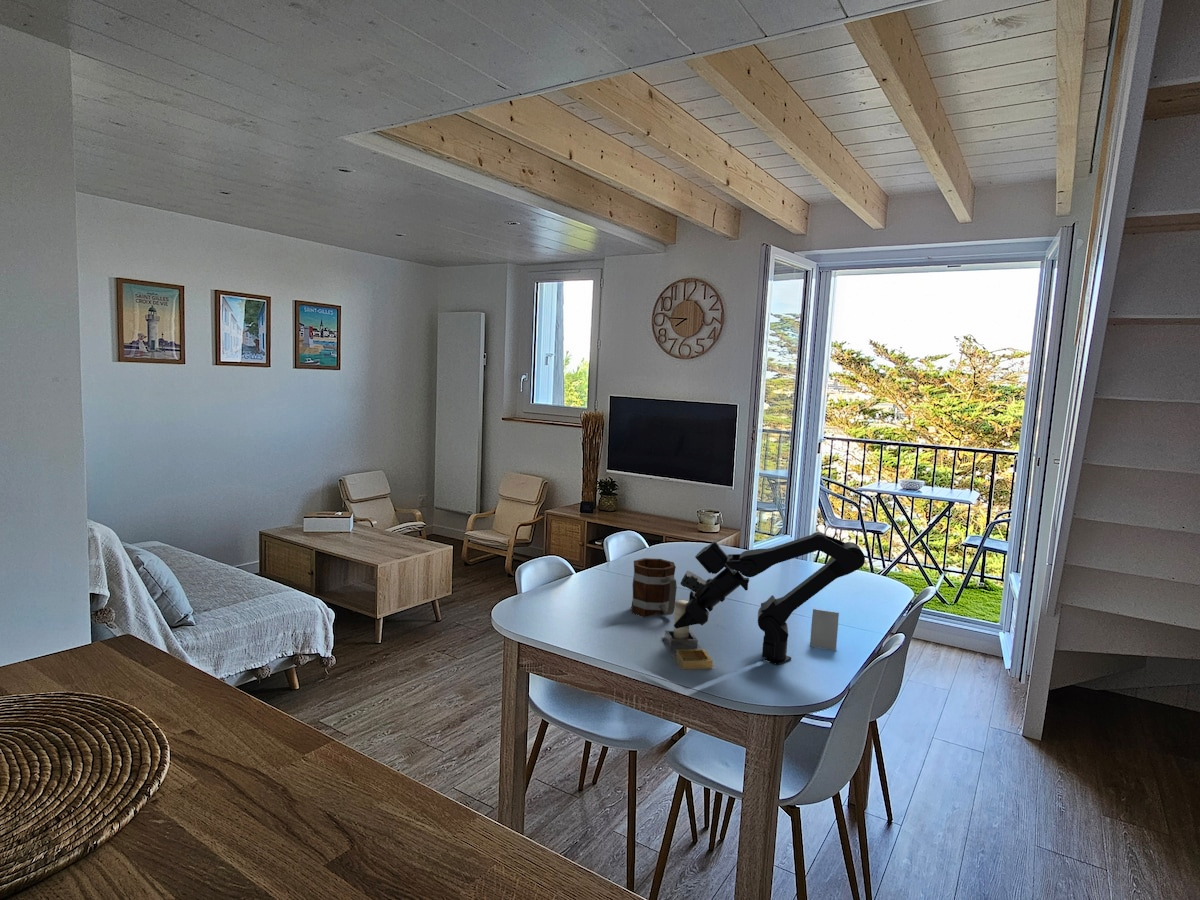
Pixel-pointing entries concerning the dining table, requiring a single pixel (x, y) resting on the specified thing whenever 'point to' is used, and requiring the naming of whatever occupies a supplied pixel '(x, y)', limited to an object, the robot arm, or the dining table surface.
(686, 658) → the grey socket board
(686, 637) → the peg
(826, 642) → the beige rectangular block
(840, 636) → the dining table surface
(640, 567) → the mug
